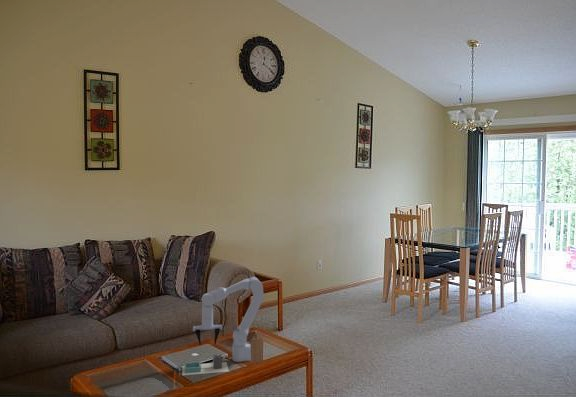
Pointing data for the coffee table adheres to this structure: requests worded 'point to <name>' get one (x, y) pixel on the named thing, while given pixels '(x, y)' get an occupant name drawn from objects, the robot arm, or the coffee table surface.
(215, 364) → the cable plug
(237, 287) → the robot arm
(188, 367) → the board
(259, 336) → the coffee table surface
